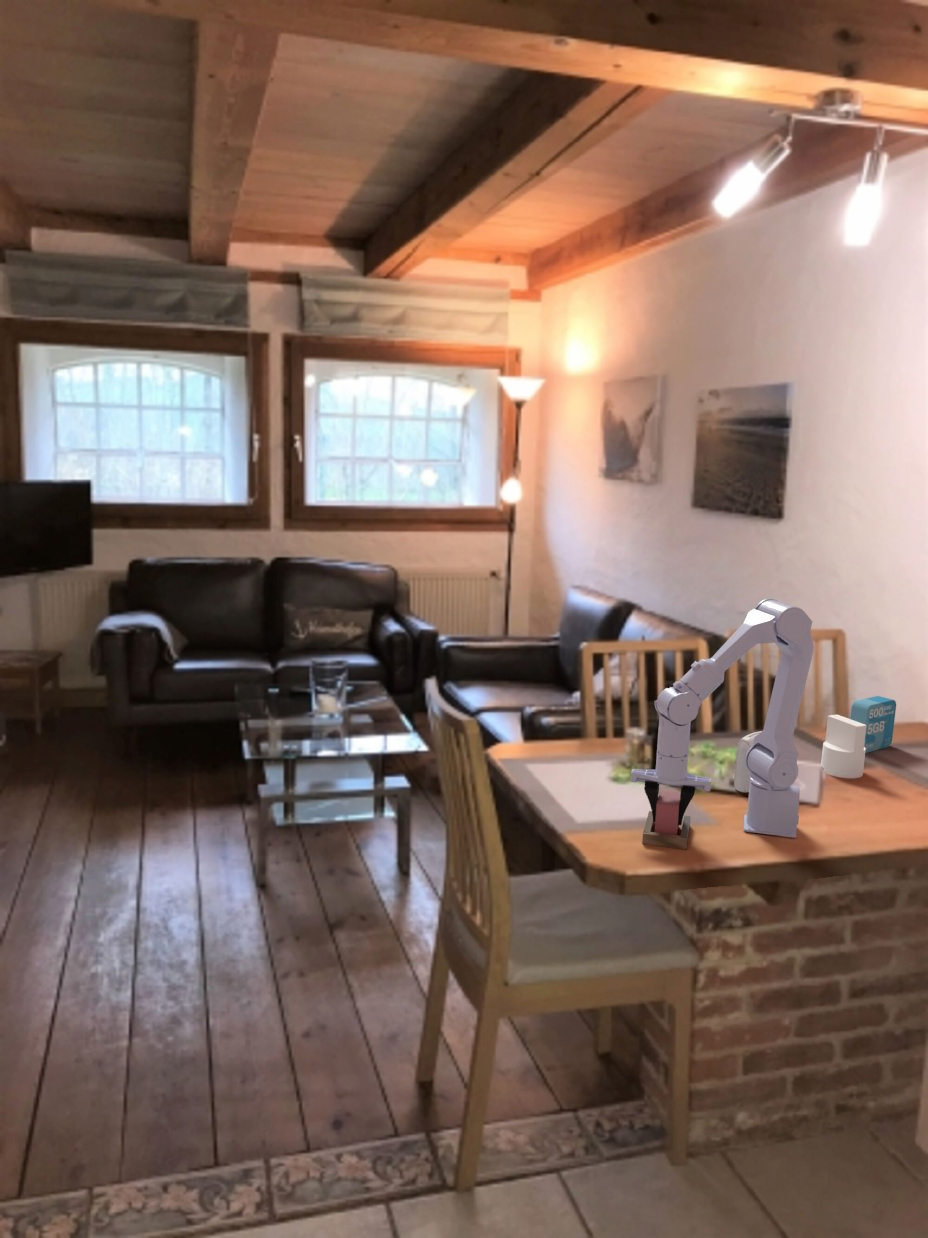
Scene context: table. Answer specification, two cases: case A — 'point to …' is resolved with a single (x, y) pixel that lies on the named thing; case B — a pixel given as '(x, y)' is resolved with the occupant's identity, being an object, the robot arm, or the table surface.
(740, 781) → the photo printer
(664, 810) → the dull red block
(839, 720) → the cylinder with rectangular tab
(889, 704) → the data package
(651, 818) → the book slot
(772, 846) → the table surface
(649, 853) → the table surface
